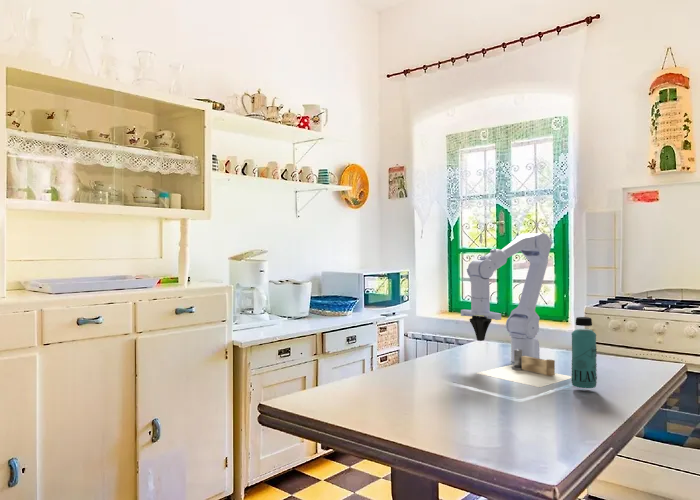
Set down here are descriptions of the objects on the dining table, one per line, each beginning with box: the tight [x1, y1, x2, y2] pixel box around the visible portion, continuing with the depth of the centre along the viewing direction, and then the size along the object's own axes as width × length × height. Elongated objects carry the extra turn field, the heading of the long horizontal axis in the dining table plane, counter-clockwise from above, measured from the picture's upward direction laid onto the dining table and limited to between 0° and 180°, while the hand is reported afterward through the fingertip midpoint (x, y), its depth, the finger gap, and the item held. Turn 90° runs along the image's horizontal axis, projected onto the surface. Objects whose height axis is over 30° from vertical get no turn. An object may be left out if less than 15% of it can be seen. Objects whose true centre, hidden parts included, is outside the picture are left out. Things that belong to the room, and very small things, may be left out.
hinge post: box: [512, 349, 523, 370], centre depth 172 cm, size 4×4×7 cm
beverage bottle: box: [570, 316, 598, 389], centre depth 149 cm, size 6×7×20 cm
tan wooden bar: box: [522, 356, 556, 376], centre depth 166 cm, size 11×2×4 cm, turn 33°
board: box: [476, 364, 572, 388], centre depth 164 cm, size 18×22×1 cm
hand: (480, 340), depth 175 cm, fingers closed
